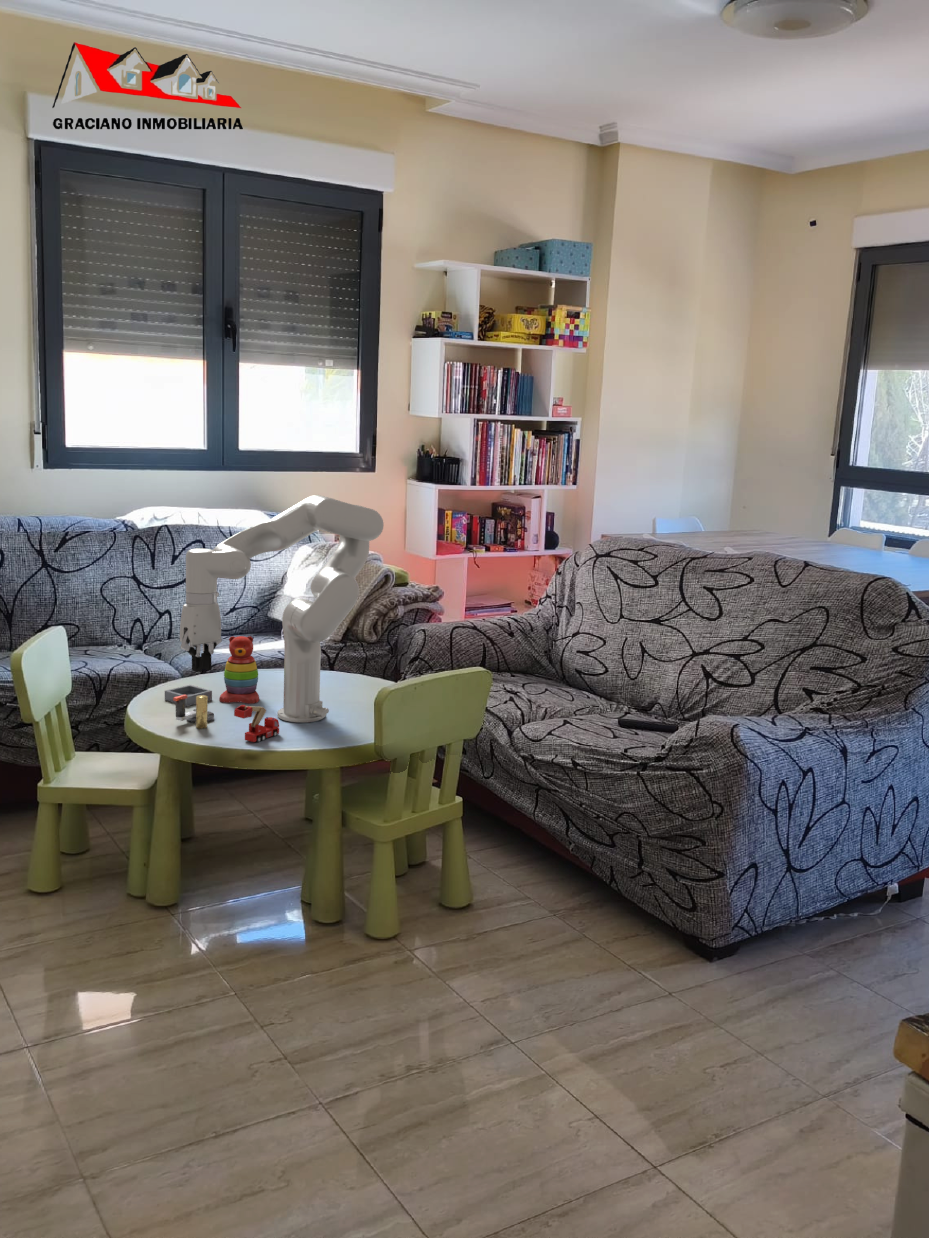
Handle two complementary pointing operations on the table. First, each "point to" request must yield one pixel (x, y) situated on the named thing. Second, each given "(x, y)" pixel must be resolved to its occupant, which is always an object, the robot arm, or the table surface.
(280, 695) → the table surface
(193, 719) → the hub
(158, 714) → the table surface
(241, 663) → the stacking bear
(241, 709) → the toy fire truck
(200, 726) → the pin
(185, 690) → the tray
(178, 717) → the crank
